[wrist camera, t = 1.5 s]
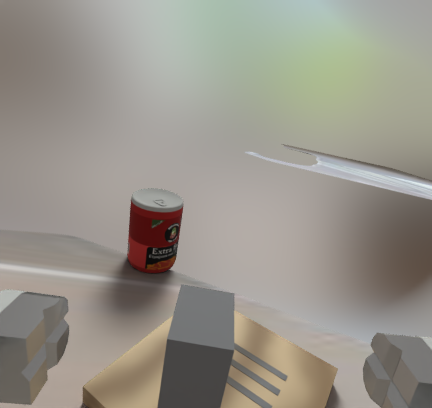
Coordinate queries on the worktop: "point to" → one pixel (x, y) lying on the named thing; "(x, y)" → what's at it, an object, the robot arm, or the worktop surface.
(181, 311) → the block
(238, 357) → the oak board
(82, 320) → the worktop surface
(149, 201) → the canned food
